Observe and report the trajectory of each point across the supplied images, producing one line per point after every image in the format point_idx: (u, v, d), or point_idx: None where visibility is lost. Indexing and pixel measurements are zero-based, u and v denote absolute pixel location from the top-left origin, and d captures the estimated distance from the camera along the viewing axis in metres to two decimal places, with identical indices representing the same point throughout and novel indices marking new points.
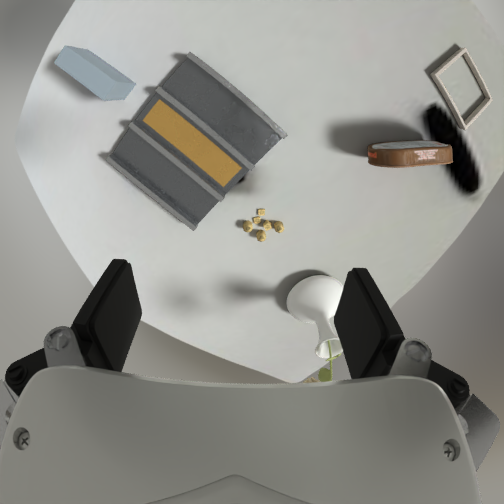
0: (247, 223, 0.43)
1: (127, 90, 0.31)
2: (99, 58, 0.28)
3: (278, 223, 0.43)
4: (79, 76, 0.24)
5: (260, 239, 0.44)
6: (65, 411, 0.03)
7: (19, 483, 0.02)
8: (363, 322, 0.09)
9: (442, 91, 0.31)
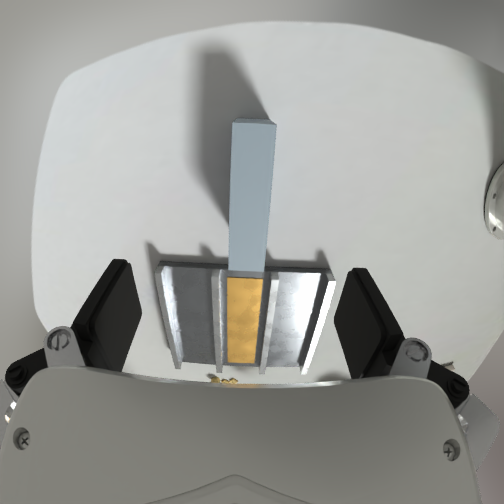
0: (217, 382, 0.42)
1: None
2: None
3: None
4: (238, 204, 0.20)
5: None
6: (65, 411, 0.03)
7: (19, 483, 0.02)
8: (363, 322, 0.09)
9: None
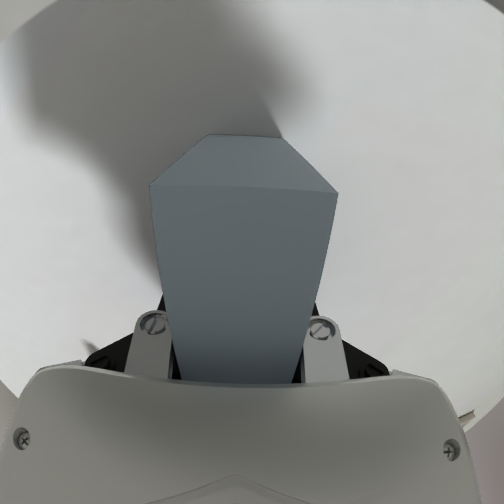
0: None
1: None
2: None
3: None
4: None
5: None
6: (65, 411, 0.03)
7: (19, 483, 0.02)
8: None
9: None
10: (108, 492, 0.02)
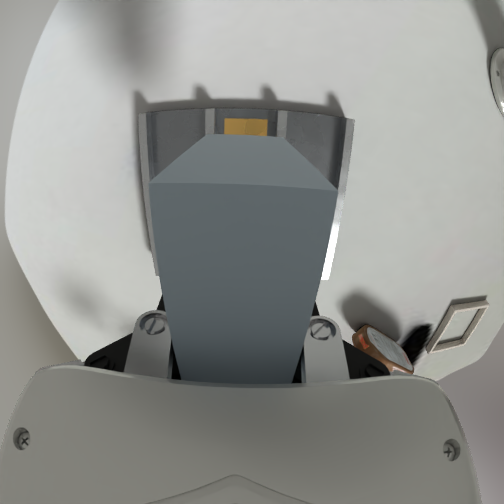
0: None
1: None
2: None
3: None
4: None
5: None
6: (65, 411, 0.03)
7: (19, 483, 0.02)
8: None
9: (444, 321, 0.39)
10: (108, 492, 0.02)
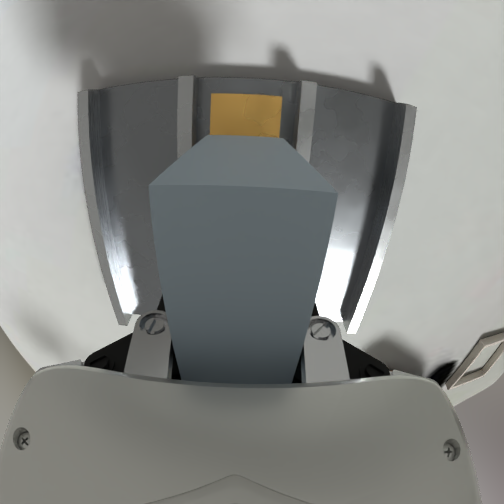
0: None
1: None
2: None
3: None
4: None
5: None
6: (65, 411, 0.03)
7: (19, 483, 0.02)
8: None
9: (470, 357, 0.30)
10: (108, 492, 0.02)
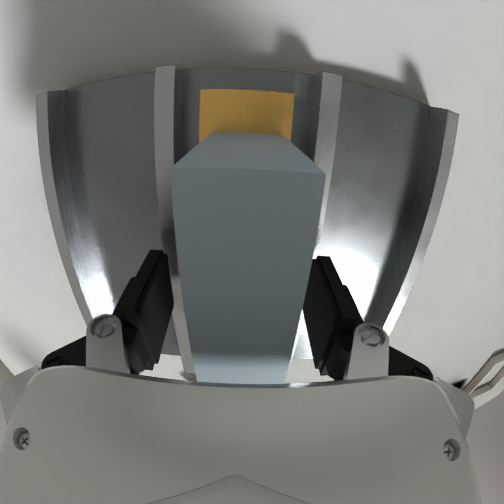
0: None
1: None
2: None
3: None
4: (214, 367, 0.08)
5: None
6: (65, 411, 0.03)
7: (19, 483, 0.02)
8: (322, 307, 0.10)
9: (480, 374, 0.27)
10: (108, 492, 0.02)
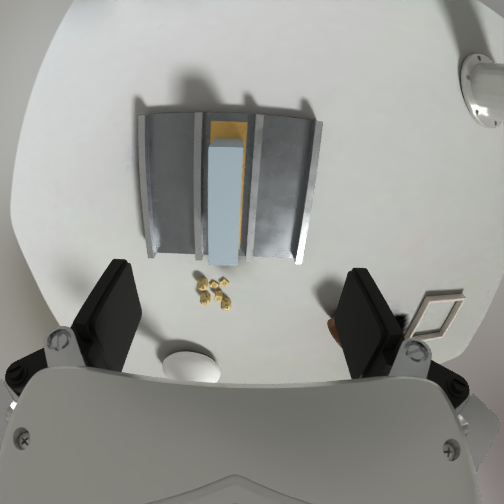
0: (205, 282, 0.38)
1: None
2: None
3: (228, 302, 0.40)
4: (214, 211, 0.25)
5: (202, 301, 0.39)
6: (65, 411, 0.03)
7: (19, 483, 0.02)
8: (363, 322, 0.09)
9: (420, 312, 0.45)
10: (108, 492, 0.02)
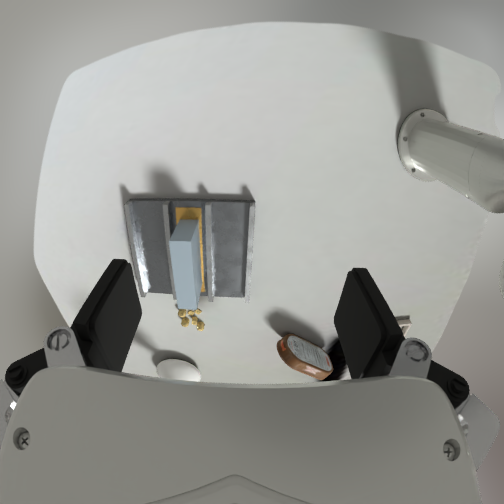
0: (183, 311, 0.51)
1: None
2: (199, 242, 0.42)
3: (202, 325, 0.53)
4: (177, 278, 0.38)
5: (182, 324, 0.52)
6: (65, 411, 0.03)
7: (19, 483, 0.02)
8: (363, 322, 0.09)
9: None
10: (108, 492, 0.02)
